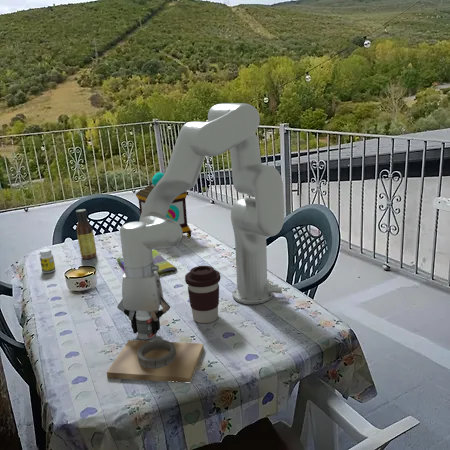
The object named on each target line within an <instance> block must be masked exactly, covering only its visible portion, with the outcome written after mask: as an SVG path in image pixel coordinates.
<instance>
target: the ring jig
mask: <svg viewBox="0 0 450 450" xmlns="http://www.w3.org/2000/svg"><path fill="white" fill-rule="evenodd" d="M204 349H205V346H204V343H200V342H199V343H197V342H196V343H195V342H176V341H169V340H164V339H163V340H162V339H157V340H141V339H140V340H139V339H137V340H136V339H129V340H127V342H126V344H125V345H124V347H122V349H121V350H120V352H119V354H118V355H117V356H116V358H115V360H114V361H113V362H112V364H111V366H110V367H109V368H108V369H107V371H106V376H107V378H108V379H118V380H119V379H122V380H135V381H148V382H149V381H151V382H162V381H167V382H166V383H169V382H168V381H171V382H170V383H177V382H191V383H192V381H191V379H192V380H193V378H192V377H194V376H195V373H194V372H196V370H197V367H198V364H199V363H200V359H201V358H202V354H203V352H204ZM193 375H194V376H193ZM172 381H174V382H172ZM176 381H177V382H176Z"/></svg>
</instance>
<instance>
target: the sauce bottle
mask: <svg viewBox="0 0 450 450" xmlns="http://www.w3.org/2000/svg"><path fill="white" fill-rule="evenodd" d="M87 213H88V211H87V209H85V208H82V209H81V208H80V209H76V210H75V214H76V216H77V217H76V218H77V225H76V226H75V229H76V236H77V242H78V246H79V252H80V255H81V258H82V259H84V260H90V259H94V258H95V257H97V254H98V253H97V247H96V243H95V237H94V230H93V229H94V228H93V227H92V225H91V223H90V221H89V219H88V215H87Z"/></svg>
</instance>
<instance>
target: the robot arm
mask: <svg viewBox="0 0 450 450" xmlns="http://www.w3.org/2000/svg"><path fill="white" fill-rule="evenodd" d="M260 119H261V117H260V113H259V111H258V109H257V108H256V107H255V106H253V105H252V104H249V103H245V102H243V103H240V102H239V103H237V102H235V103H233V102H224V103H217V104H215V105H213V106H212V107H210V108H209V110H208V114H207V120H208V121H199V120H198V121H195V120H194V121H189V122H187V123H184V124H183V126H182V127H181V128H180V131H179V133H178V136H177V138H176V141H175V144H174V147H173V150H172V153H171V155H170V158H169V161H168V164H167V167H166V170H165V173H163V174H164V176H163V177H162V178H161V180H160V181H159V182H158V183H157V184H156V186H155V187H154V188H153V190H152V191H151V192H150V194H149V195H148V197H147V199H146V202H145V204H144V207H143V210H142V213H141V216H140V217H139V221H130V222H127V223H124V224H123V225H121V226H120V229H119V236H120V237H119V238H120V244H121V245H120V246H121V252H122V253H121V254H122V258H123V262H124V270H125V273H124V274H123V275H122V282H121V287H122V288H121V295H122V299H121V300H120V302H119V303H118V305H117V309H118V310H119V311H120V312H123V315H125V316H126V317H128V320H129V321H130V324H131V329H132V332H133V334H135V335H136V334H138V332H137V324H136V315H137V313H136V311H150V313H151V315H152V318H153V320H152V331H153V334H154V335H155V336H156V335H157V333H158V332H159V330H160V329H161V324H160V323H161V322H160V318H161V317H163V315H164V314H166V313H167V312H168V311H170V309H171V306H170V304H169V303H168V302H167V301H166V299H165V298H164V292H163V286H162V282H161V279H160V276H159V275H158V272H157V271H158V270H159V266H158V265H155V264H154V262H153V255H152V250H157V249H159V250H160V249H166V248H167V249H168V248H172V247H175V246H176V245H178V244H179V243H180V242H181V240H182V238H183V231H182V228H181V226H180V225H179V224H178V223H177V222H176V221H174V220H172V219H170V218H167V217H166V215H167V212H168V209H169V207H170V205H171V203H172V202H173V201H174V199H175V198H176V197H177V196H179V195H180V194H182V193H184V192H187V191H189V190H191V189H192V188H194V187H195V186H196V184H197V182H198V179H199V176H200V172H201V171H202V167H203V164H204V162H205V159H206V157H216V156H219V155H221V154H223V153H226V152H227V151H229V153H230V163H231V165H230V166H231V176H232V185H233V187H234V190H235V191H236V192H238V193H239V194H242V195H244V196H248V197H243V198H238V199H237V200H236V201H235V202H234V203H233V204H232V207H231V210H230V220H231V225H232V229H233V234H234V243H235V245H234V249H235V266H236V267H235V269H236V272H235V273H236V288H235V289H233V290H232V299H233V300H235V302H238V303H239V304H243V305H244V304H245V305H260V303H261V304H263V303H266V301H267V302H268V301H270V300H271V299H272V298H273V295H272V294H282V293H283V292H282V291H283V290H282V289H283V288H282V286H279V284H277V283H276V284H275V283H274V284H272V283H270V279H269V278H268V263H267V261H268V259H267V258H268V257H267V255H268V254H267V251H268V250H267V249H268V248H267V239H266V237H269V238H270V237H274V236H277V235H278V234H279V233H280V231H281V230H282V228H283V226H284V223H285V198H284V197H285V196H284V195H285V194H284V193H285V192H284V183H283V178H282V175H281V173H280V172H279V170H278V169H276V168H275V167H274V166H271V165H267V164H262V159H261V151H260V150H261V149H260V143H259V139H258V137H257V133H256V132H257V131H258V128H259V126H260V121H261V120H260ZM160 306H161V307H162V308H160Z"/></svg>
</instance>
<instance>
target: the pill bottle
mask: <svg viewBox="0 0 450 450" xmlns="http://www.w3.org/2000/svg"><path fill="white" fill-rule="evenodd" d="M136 313H137V315H136V324H137V337H138V339H140V340H142V341H148V340H151V339H153V338H154V337H155V336H156V335H154V334H153V331H152V320H153V318H152V315H151V313H150V311H136Z"/></svg>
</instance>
